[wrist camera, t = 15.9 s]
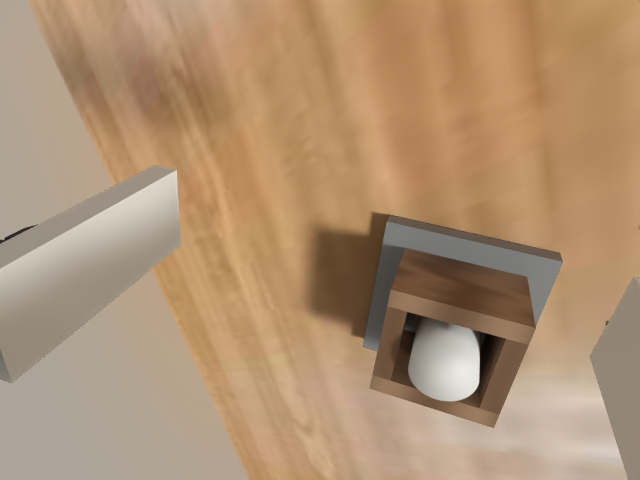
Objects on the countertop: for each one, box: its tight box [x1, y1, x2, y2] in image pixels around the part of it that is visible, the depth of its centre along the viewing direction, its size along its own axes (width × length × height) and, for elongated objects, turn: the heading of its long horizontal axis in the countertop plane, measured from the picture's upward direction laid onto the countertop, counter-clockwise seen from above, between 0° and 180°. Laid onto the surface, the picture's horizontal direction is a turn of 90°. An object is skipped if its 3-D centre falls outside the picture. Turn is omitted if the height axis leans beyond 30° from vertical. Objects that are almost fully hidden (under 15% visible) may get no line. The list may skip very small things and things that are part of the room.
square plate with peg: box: [363, 215, 563, 401], centre depth 37 cm, size 14×14×10 cm
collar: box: [370, 248, 536, 428], centre depth 37 cm, size 10×10×7 cm
